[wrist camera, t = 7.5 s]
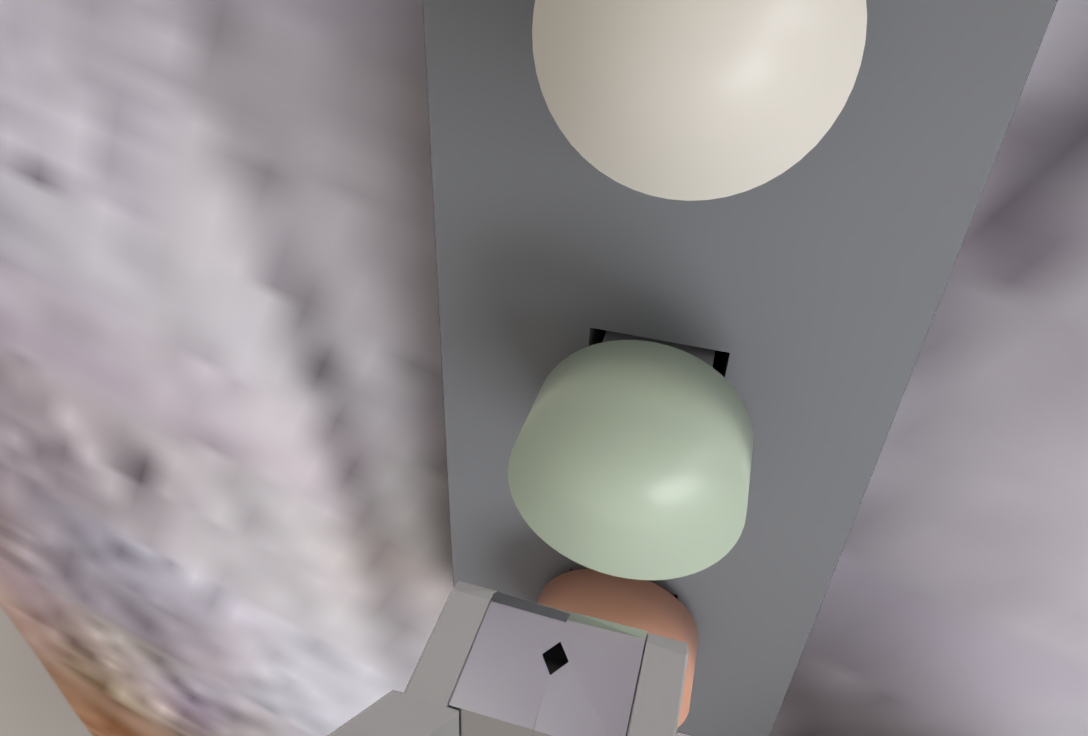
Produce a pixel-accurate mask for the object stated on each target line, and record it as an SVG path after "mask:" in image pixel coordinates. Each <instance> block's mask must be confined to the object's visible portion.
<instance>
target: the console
mask: <svg viewBox="0 0 1088 736" xmlns="http://www.w3.org/2000/svg"><path fill="white" fill-rule="evenodd" d="M1057 1H1058V0H866V5H867V27H866V41H865V46H864V51H863V56H862V61H861V66H860V69H859V72H858V75H857V78H856V81H855V84H854V87H853V89H852V91H851V93H850V95H849V97H848V99H847V101H846V103H845V105H844V108H843V109H842V111H841V112H840V114H839V116H838V117H837V119H836V120H835V122H834V123H833V125H832V126H831V128H830V129H829V130H828V132H827V133H826V134H825V135H824V136H823V138H822V139H821V140H820V141H819V142H818V144H817V145H816V146H815V147H814V148H813V149H812V150H811V151H809V152H808V153H807V154H806V155H805V156H804V157H803V158H802V159H801V160H800V161H799V162H797V163H796V164H794V165H793V166H792V167H790V168H789V169H788V170H786V171H785V172H784V173H782V174H780V175H779V176H777V177H775V178H773V179H772V180H770V181H768V182H766V183H765V184H762V185H760V186H758V187H755V188H753V189H750V190H748V191H746V192H742V193H739V194H735V195H732V196H728V197H723V198H717V199H711V200H697V201H684V200H672V199H665V198H660V197H655V196H651V195H647V194H644V193H641V192H639V191H636V190H633V189H630V188H628V187H626V186H624V185H622V184H620V183H618V182H616V181H614V180H613V179H611V178H609V177H608V176H606V175H605V174H603V173H602V172H600V171H599V170H597V169H596V168H595V167H594V166H593V165H591V164H590V163H589V162H588V161H587V160H585V159H584V158H583V157H582V156H581V155H580V153H579V152H578V151H577V150H576V149H575V148H574V147H573V146H572V145H571V144H570V142H569V141H568V140H567V138H566V137H565V136H564V134H563V133H562V131H561V130H560V129H559V127H558V125H557V124H556V122H555V120H554V118H553V116H552V115H551V113H550V111H549V109H548V106H547V104H546V101H545V99H544V97H543V94H542V92H541V88H540V84H539V81H538V77H537V74H536V68H535V62H534V55H533V42H532V24H533V12H534V5H535V0H423V17H424V36H425V55H426V74H427V93H428V111H429V130H430V149H431V168H432V187H433V206H434V225H435V244H436V263H437V282H438V301H439V320H440V338H441V357H442V376H443V395H444V414H445V433H446V452H447V471H448V490H449V509H450V528H451V547H452V565H453V584H454V587H455V586H456V584H457V583H458V582H459V581H462V582H466V583H469V584H473V585H477V586H480V587H484V588H488V589H491V590H495V591H497V592H500V593H504V594H507V595H511V596H514V597H518V598H521V599H525V600H528V601H532V602H535V603H537V601H538V598H539V595H540V593H541V591H542V589H543V588H544V586H545V585H546V584H547V583H548V582H549V581H551V580H552V579H554V578H555V577H557V576H559V575H561V574H563V573H567V572H570V571H574V570H579V569H588V567H585V566H583V565H581V564H579V563H577V562H574V561H572V560H571V559H569V558H567V557H566V556H564V555H562V554H560V553H559V552H558V551H556V550H555V549H553V548H552V547H551V546H549V545H548V544H547V543H546V542H545V541H543V540H542V539H541V538H540V537H539V536H538V535H537V534H536V533H535V532H534V531H533V530H532V529H531V528H530V527H529V525H528V524H527V523H526V521H525V520H524V519H523V517H522V516H521V514H520V512H519V510H518V509H517V507H516V505H515V503H514V500H513V498H512V495H511V492H510V487H509V483H508V464H509V458H510V455H511V451H512V449H513V447H514V445H515V442H516V440H517V438H518V436H519V434H520V432H521V430H522V427H523V425H524V423H525V421H526V419H527V417H528V415H529V412H530V410H531V408H532V406H533V404H534V402H535V399H536V397H537V395H538V393H539V391H540V389H541V387H542V385H543V383H544V381H545V379H546V378H547V376H548V375H549V373H550V372H551V371H552V370H553V369H554V368H555V367H556V366H557V365H558V364H559V363H560V362H561V361H562V360H564V359H565V358H567V357H568V356H569V355H571V354H573V353H575V352H577V351H579V350H580V349H583V348H586V347H588V346H591V345H594V344H598V343H602V342H603V339H604V336H605V334H606V331H612V332H617V333H623V334H628V335H634V336H639V337H645V338H650V339H656V340H661V341H667V342H672V343H678V344H683V345H689V346H694V347H700V348H706V349H711V350H717V351H722V352H726V356H725V360H724V365H723V370H722V374H721V375H722V376H723V377H724V378H725V379H726V380H727V381H728V382H729V383H730V384H731V385H732V386H733V387H734V389H735V390H736V391H737V393H738V394H739V395H740V397H741V399H742V401H743V402H744V404H745V406H746V408H747V411H748V413H749V416H750V419H751V423H752V429H753V451H752V461H751V472H750V482H749V493H748V504H747V514H746V520H745V525H744V528H743V530H742V533H741V536H740V537H739V539H738V541H737V542H736V544H735V546H734V547H733V548H732V549H731V550H730V551H729V552H728V553H727V555H725V556H724V557H723V558H722V559H720V560H719V561H718V562H716V563H715V564H713V565H711V566H710V567H708V568H706V569H704V570H701V571H699V572H697V573H694V574H691V575H687V576H684V577H679V578H674V579H666V580H648V581H650V582H653V583H655V584H657V585H658V586H660V587H662V588H663V589H665V590H666V591H668V592H669V593H670V594H672V595H673V596H674V597H676V598H677V599H678V600H679V601H680V602H681V603H682V604H683V605H684V606H685V607H686V609H687V610H688V611H689V613H690V614H691V616H692V617H693V619H694V621H695V623H696V626H697V629H698V635H699V641H698V649H697V656H696V663H695V670H694V678H693V685H692V692H691V699H690V707H689V713H688V715H687V718H686V719H685V721H684V722H683V723H682V724H681V725H680V726H679V727H678V728H677V732H680V733H684V734H687V735H691V736H770V733H771V731H772V728H773V726H774V723H775V721H776V718H777V716H778V713H779V710H780V708H781V705H782V703H783V700H784V698H785V695H786V693H787V690H788V687H789V685H790V682H791V680H792V677H793V675H794V672H795V670H796V667H797V664H798V662H799V659H800V657H801V654H802V652H803V649H804V647H805V644H806V641H807V639H808V636H809V634H810V631H811V629H812V626H813V624H814V621H815V618H816V616H817V613H818V611H819V608H820V606H821V603H822V601H823V598H824V596H825V593H826V590H827V588H828V585H829V583H830V580H831V578H832V575H833V573H834V570H835V567H836V565H837V562H838V560H839V557H840V555H841V552H842V550H843V547H844V544H845V542H846V539H847V537H848V534H849V532H850V529H851V527H852V524H853V521H854V519H855V516H856V514H857V511H858V509H859V506H860V504H861V501H862V498H863V496H864V493H865V491H866V488H867V486H868V483H869V481H870V478H871V476H872V473H873V470H874V468H875V465H876V463H877V460H878V458H879V455H880V453H881V450H882V447H883V445H884V442H885V440H886V437H887V435H888V432H889V430H890V427H891V424H892V422H893V419H894V417H895V414H896V412H897V409H898V407H899V404H900V401H901V399H902V396H903V394H904V391H905V389H906V386H907V384H908V381H909V378H910V376H911V373H912V371H913V368H914V366H915V363H916V361H917V358H918V356H919V353H920V350H921V348H922V345H923V343H924V340H925V338H926V335H927V333H928V330H929V327H930V325H931V322H932V320H933V317H934V315H935V312H936V310H937V307H938V304H939V302H940V299H941V297H942V294H943V292H944V289H945V287H946V284H947V281H948V279H949V276H950V274H951V271H952V269H953V266H954V264H955V261H956V258H957V256H958V253H959V251H960V248H961V246H962V243H963V241H964V238H965V236H966V233H967V230H968V228H969V225H970V223H971V220H972V218H973V215H974V213H975V210H976V207H977V205H978V202H979V200H980V197H981V195H982V192H983V190H984V187H985V184H986V182H987V179H988V177H989V174H990V172H991V169H992V167H993V164H994V161H995V159H996V156H997V154H998V151H999V149H1000V146H1001V144H1002V141H1003V138H1004V136H1005V133H1006V131H1007V128H1008V126H1009V123H1010V121H1011V118H1012V116H1013V113H1014V110H1015V108H1016V105H1017V103H1018V100H1019V98H1020V95H1021V93H1022V90H1023V87H1024V85H1025V82H1026V80H1027V77H1028V75H1029V72H1030V70H1031V67H1032V64H1033V62H1034V59H1035V57H1036V54H1037V52H1038V49H1039V47H1040V44H1041V41H1042V39H1043V36H1044V34H1045V31H1046V29H1047V26H1048V24H1049V21H1050V18H1051V16H1052V13H1053V11H1054V8H1055V6H1056V3H1057Z"/></svg>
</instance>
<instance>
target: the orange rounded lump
mask: <svg viewBox="0 0 1088 736" xmlns="http://www.w3.org/2000/svg"><path fill="white" fill-rule="evenodd" d="M537 603H539V604H542V605H546V606H549V607H552V608H556V609H559V610H563V611H566V612H574V613H578V614H582V615H586V616H590V617H594V618H598V619H602V620H606V621H610V622H614V623H617V624H621V625H625V626H629V627H633V628H637V629H641V630H645V631H647V634H648V633H650V634H654V635H658V636H662V637H666V638H670V639H674V640H678V641H682V642H686V643H688V651H689V654H688V661H687V667H686V674H685V681H684V687H683V694H682V701H681V708H680V714H679V721H678V727H679V726H680V725H681V724H682V723H683V722H684V721H685V719H686V718H687V715H688V713H689V707H690V699H691V692H692V685H693V678H694V670H695V663H696V656H697V649H698V641H699V635H698V629H697V626H696V623H695V621H694V619H693V617H692V616H691V614H690V613H689V611H688V610H687V609H686V607H685V606H684V605H683V604H682V603H681V602H680V601H679V600H678V599H677V598H676V597H674V596H673V595H672V594H670V593H669V592H668V591H666V590H665V589H663V588H662V587H660V586H658V585H657V584H655V583H653V582H650V581H648V580H636V579H627V578H622V577H617V576H612V575H608V574H605V573H601V572H598V571H595V570H593V569H590V568H588V569H579V570H574V571H570V572H567V573H563V574H561V575H559V576H557V577H555V578H554V579H552V580H551V581H549V582H548V583H547V584H546V585H545V586H544V588H543V589H542V591H541V593H540V595H539V598H538V601H537ZM647 634H646V636H647Z"/></svg>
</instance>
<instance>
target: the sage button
mask: <svg viewBox="0 0 1088 736" xmlns="http://www.w3.org/2000/svg"><path fill="white" fill-rule="evenodd" d="M714 356H715V350H711V349H706V348H700V347H694V346H689V345H683V344H678V343H672V342H667V341H661V340H656V339H650V338H645V337H639V336H634V335H628V334H623V333H617V332H612V331H606V334H605V336H604V339H603V342H602V343H598V344H594V345H591V346H588V347H586V348H583V349H580V350H579V351H577V352H575V353H573V354H571V355H569V356H568V357H567V358H565V359H564V360H562V361H561V362H560V363H559V364H558V365H557V366H556V367H555V368H554V369H553V370H552V371H551V372H550V373H549V375H548V376H547V378H546V379H545V381H544V383H543V385H542V387H541V389H540V391H539V393H538V395H537V397H536V399H535V402H534V404H533V406H532V408H531V410H530V412H529V415H528V417H527V419H526V421H525V423H524V425H523V427H522V430H521V432H520V434H519V436H518V438H517V440H516V442H515V445H514V447H513V449H512V451H511V455H510V458H509V464H508V483H509V487H510V492H511V495H512V498H513V500H514V503H515V505H516V507H517V509H518V510H519V512H520V514H521V516H522V517H523V519H524V520H525V521H526V523H527V524H528V525H529V527H530V528H531V529H532V530H533V531H534V532H535V533H536V534H537V535H538V536H539V537H540V538H541V539H542V540H543V541H545V542H546V543H547V544H548V545H549V546H551V547H552V548H553V549H555V550H556V551H558V552H559V553H560V554H562V555H564V556H566V557H567V558H569V559H571V560H572V561H574V562H577V563H579V564H581V565H583V566H585V567H588V568H590V569H593V570H595V571H598V572H601V573H605V574H608V575H612V576H617V577H622V578H627V579H636V580H666V579H674V578H679V577H684V576H687V575H691V574H694V573H697V572H699V571H701V570H704V569H706V568H708V567H710V566H711V565H713V564H715V563H716V562H718V561H719V560H720V559H722V558H723V557H724V556H725V555H727V553H728V552H729V551H730V550H731V549H732V548H733V547H734V546H735V544H736V542H737V541H738V539H739V537H740V536H741V533H742V530H743V528H744V525H745V520H746V514H747V504H748V493H749V482H750V472H751V461H752V451H753V429H752V423H751V419H750V416H749V413H748V411H747V408H746V406H745V404H744V402H743V401H742V399H741V397H740V395H739V394H738V393H737V391H736V390H735V389H734V387H733V386H732V385H731V384H730V383H729V382H728V381H727V380H726V379H725V378H724V377H723V376H722V375H721V374H720V373H719V372H718V371H716V370H715V369H714V368H713V361H714Z"/></svg>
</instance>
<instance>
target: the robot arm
mask: <svg viewBox="0 0 1088 736" xmlns="http://www.w3.org/2000/svg"><path fill="white" fill-rule="evenodd" d="M646 634H647V631H645V630H641V629H637V628H633V627H629V626H625V625H621V624H617V623H614V622H610V621H606V620H602V619H598V618H594V617H590V616H586V615H582V614H578V613H574V612H566V611H563V610H559V609H556V608H552V607H549V606H546V605H542V604H539V603H535V602H532V601H528V600H525V599H521V598H518V597H514V596H511V595H507V594H504V593H500V592H497V591H495V590H491V589H488V588H484V587H480V586H477V585H473V584H469V583H466V582H462V581H459V582H458V583H457V584H456V586H455V587H454V588H453V590H452V591H451V592H450V594H449V597H448V599H447V601H446V603H445V605H444V607H443V609H442V612H441V614H440V616H439V618H438V620H437V622H436V625H435V627H434V629H433V631H432V633H431V635H430V637H429V640H428V642H427V644H426V646H425V648H424V650H423V653H422V655H421V657H420V659H419V661H418V663H417V665H416V668H415V670H414V672H413V674H412V676H411V678H410V680H409V683H408V685H407V687H406V689H405V691H404V693H402V692H398V691H394V690H392V691H391V692H389V693H388V694H386V695H385V696H383V697H382V698H381V699H379V700H378V701H376V702H375V703H373V704H372V705H371V706H369V707H368V708H366V709H365V710H363V711H362V712H361V713H359V714H358V715H356V716H355V717H354V718H352V719H351V720H349V721H348V722H346V723H345V724H344V725H342V726H341V727H339V728H338V729H336V730H335V731H334V732H332V733H331V734H329V735H328V736H676V734H677V728H678V721H679V714H680V708H681V701H682V694H683V687H684V681H685V674H686V667H687V661H688V654H689V651H688V643H686V642H682V641H678V640H674V639H670V638H666V637H662V636H658V635H654V634H650V633H648V634H647V636H646Z"/></svg>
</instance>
